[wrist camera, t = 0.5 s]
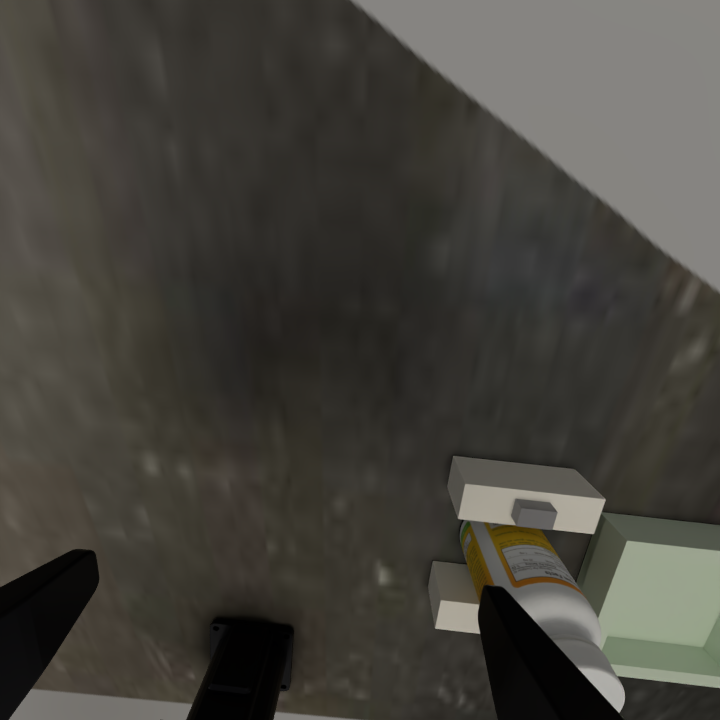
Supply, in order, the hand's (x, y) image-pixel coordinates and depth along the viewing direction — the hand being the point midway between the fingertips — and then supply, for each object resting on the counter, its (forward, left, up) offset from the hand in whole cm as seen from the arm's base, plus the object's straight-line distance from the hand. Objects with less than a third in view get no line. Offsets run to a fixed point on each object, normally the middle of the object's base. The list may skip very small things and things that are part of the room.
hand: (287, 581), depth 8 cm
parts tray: (-13, -24, -14) cm, 30 cm away
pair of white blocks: (-10, -12, -14) cm, 20 cm away
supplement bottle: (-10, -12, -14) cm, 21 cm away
